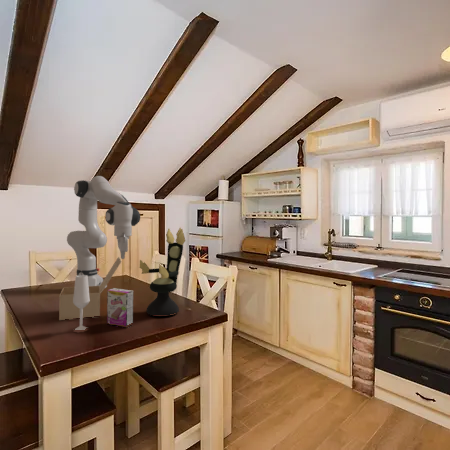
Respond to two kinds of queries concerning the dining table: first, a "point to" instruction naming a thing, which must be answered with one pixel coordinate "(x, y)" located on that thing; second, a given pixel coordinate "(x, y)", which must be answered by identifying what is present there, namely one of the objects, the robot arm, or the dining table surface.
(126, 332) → the dining table surface
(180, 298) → the dining table surface
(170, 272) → the black and tan chair
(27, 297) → the dining table surface
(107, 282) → the carton flap
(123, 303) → the candy bar box
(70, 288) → the carton
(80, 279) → the champagne flute
